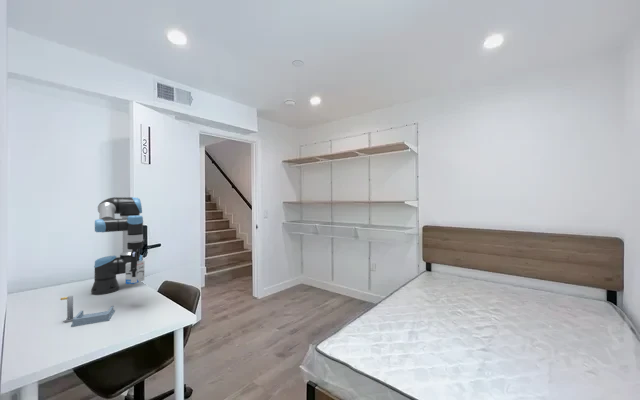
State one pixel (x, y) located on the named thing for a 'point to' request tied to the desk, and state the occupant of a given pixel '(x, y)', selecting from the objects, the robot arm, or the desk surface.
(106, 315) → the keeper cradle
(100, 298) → the desk surface
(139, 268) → the ink box
